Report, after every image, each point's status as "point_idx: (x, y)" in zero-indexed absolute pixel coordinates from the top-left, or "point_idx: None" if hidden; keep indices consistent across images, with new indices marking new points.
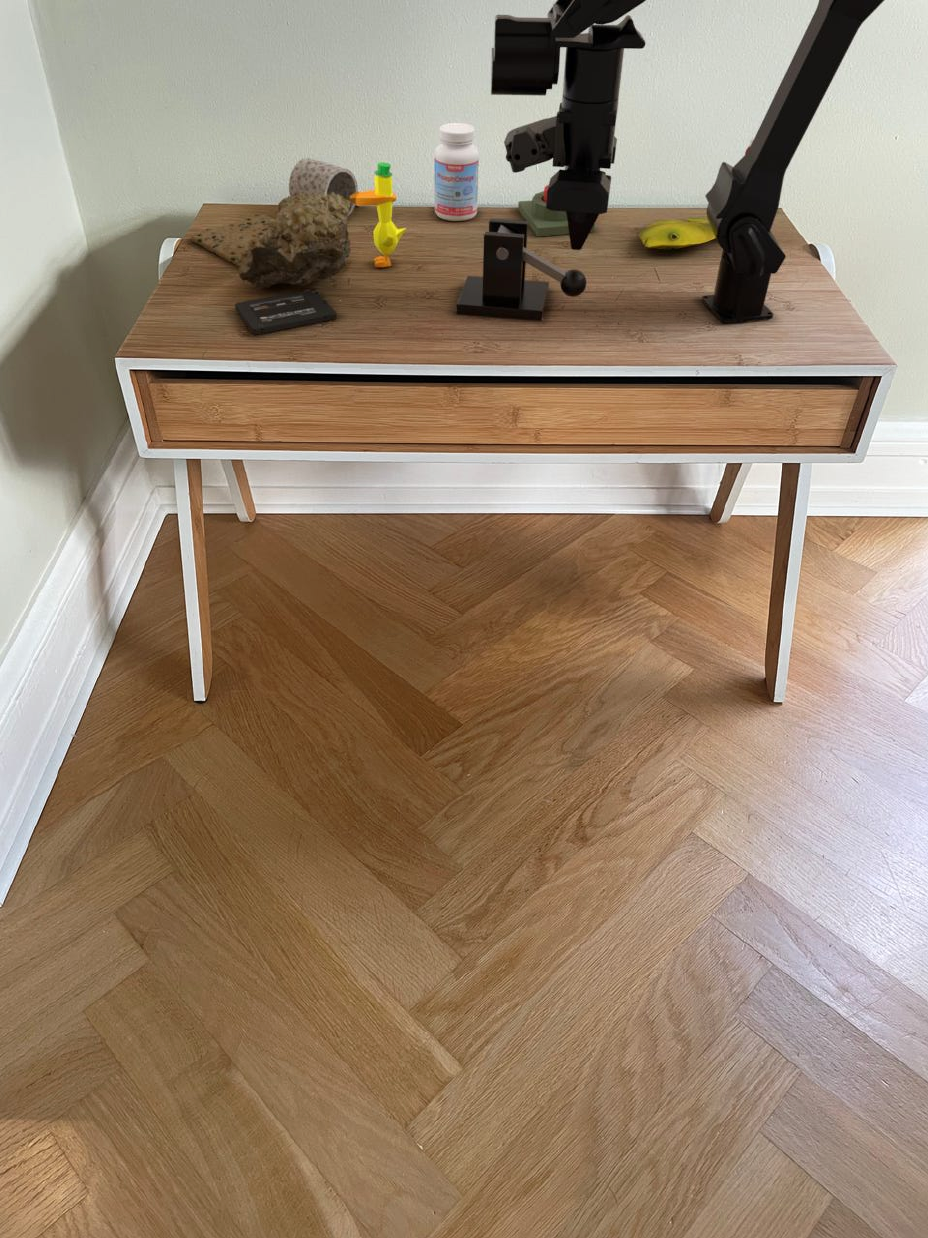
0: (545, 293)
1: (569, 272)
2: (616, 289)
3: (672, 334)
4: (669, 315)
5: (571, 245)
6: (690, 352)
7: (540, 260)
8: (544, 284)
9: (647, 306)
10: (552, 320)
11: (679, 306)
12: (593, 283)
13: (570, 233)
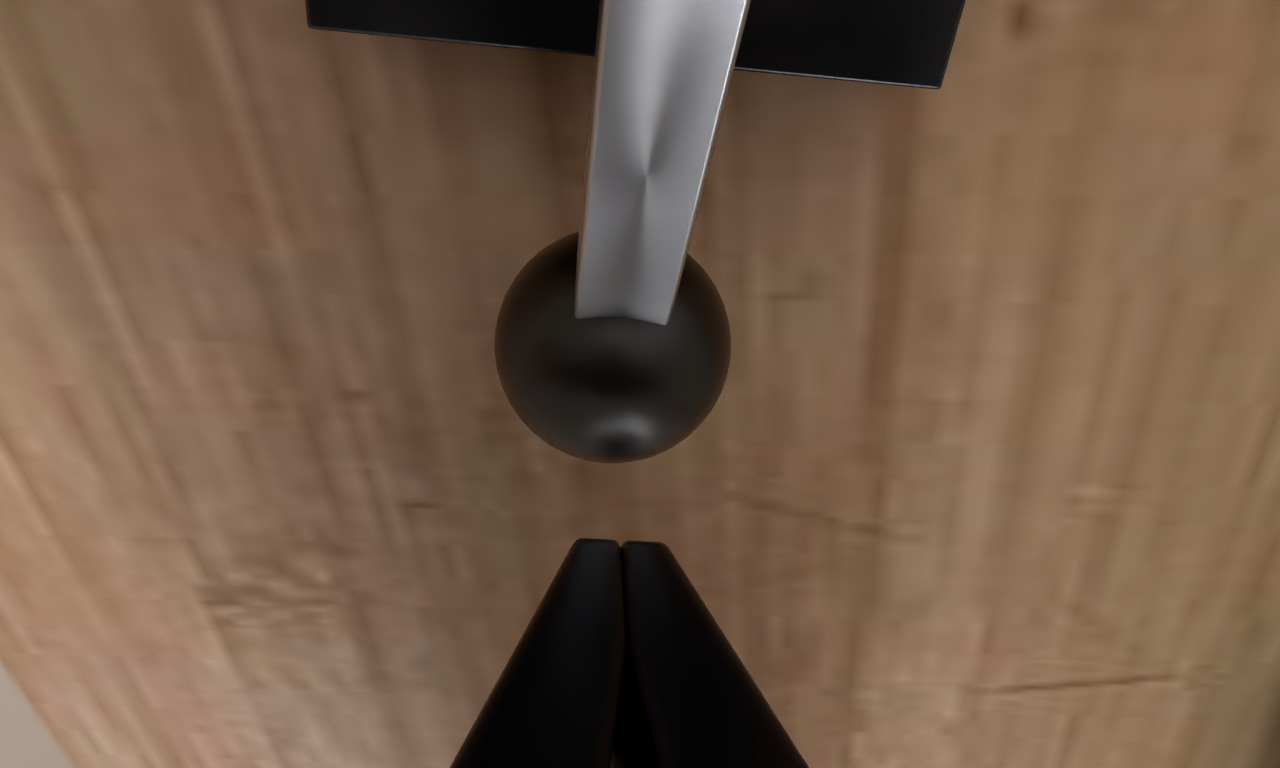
0: None
1: (584, 367)
2: (911, 508)
3: (353, 713)
4: None
5: (559, 568)
6: (180, 762)
7: (612, 102)
8: (888, 46)
9: None
10: (365, 97)
11: None
12: (1022, 387)
13: (494, 695)
